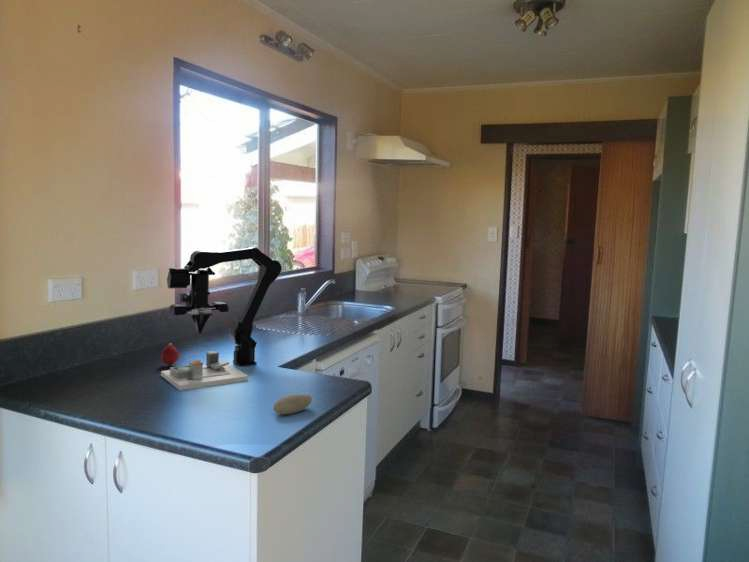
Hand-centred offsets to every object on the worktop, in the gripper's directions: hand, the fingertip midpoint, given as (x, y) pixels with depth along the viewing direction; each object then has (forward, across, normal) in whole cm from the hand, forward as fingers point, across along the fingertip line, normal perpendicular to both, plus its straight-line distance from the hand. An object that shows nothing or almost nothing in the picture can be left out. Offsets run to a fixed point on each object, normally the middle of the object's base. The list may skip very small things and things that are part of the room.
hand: (199, 333), depth 195 cm
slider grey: (+10, -2, +7) cm, 13 cm away
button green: (+10, +9, +11) cm, 18 cm away
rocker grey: (+9, -3, +11) cm, 15 cm away
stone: (+12, -6, +55) cm, 57 cm away
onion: (+12, +8, -6) cm, 16 cm away
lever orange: (+10, +7, +17) cm, 21 cm away
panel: (+12, +3, +13) cm, 18 cm away
